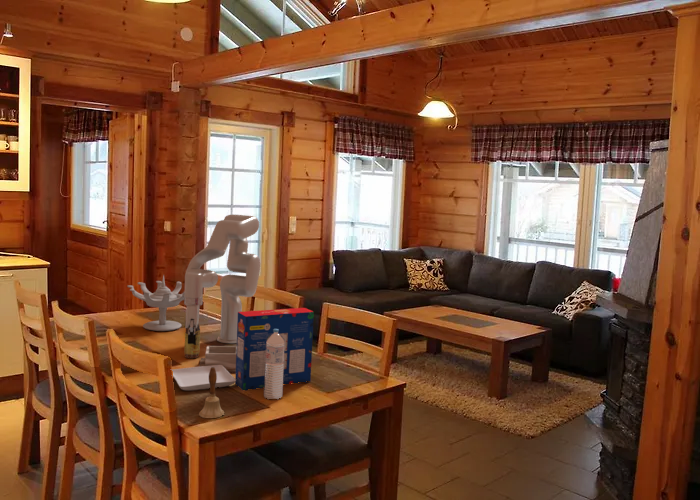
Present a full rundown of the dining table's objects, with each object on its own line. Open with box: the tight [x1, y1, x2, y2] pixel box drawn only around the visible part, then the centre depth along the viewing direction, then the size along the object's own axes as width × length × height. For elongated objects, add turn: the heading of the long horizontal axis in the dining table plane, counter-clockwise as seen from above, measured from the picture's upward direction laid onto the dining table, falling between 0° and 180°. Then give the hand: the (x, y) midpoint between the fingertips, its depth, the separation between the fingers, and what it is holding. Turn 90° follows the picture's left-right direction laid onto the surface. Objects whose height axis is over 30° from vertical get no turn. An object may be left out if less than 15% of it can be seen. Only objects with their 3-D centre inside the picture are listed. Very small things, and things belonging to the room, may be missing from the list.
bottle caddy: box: [198, 345, 237, 374], centre depth 263 cm, size 18×18×7 cm
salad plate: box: [171, 365, 236, 391], centre depth 242 cm, size 21×21×3 cm
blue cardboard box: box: [234, 307, 315, 391], centre depth 244 cm, size 28×8×28 cm, turn 121°
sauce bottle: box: [183, 323, 201, 359], centre depth 273 cm, size 7×6×20 cm
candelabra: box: [127, 274, 185, 332], centre depth 320 cm, size 34×35×27 cm
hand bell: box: [198, 367, 225, 419], centre depth 210 cm, size 8×8×16 cm
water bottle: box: [263, 329, 285, 400], centre depth 229 cm, size 7×7×25 cm
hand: (192, 340), depth 273 cm, fingers open, 8 cm apart
